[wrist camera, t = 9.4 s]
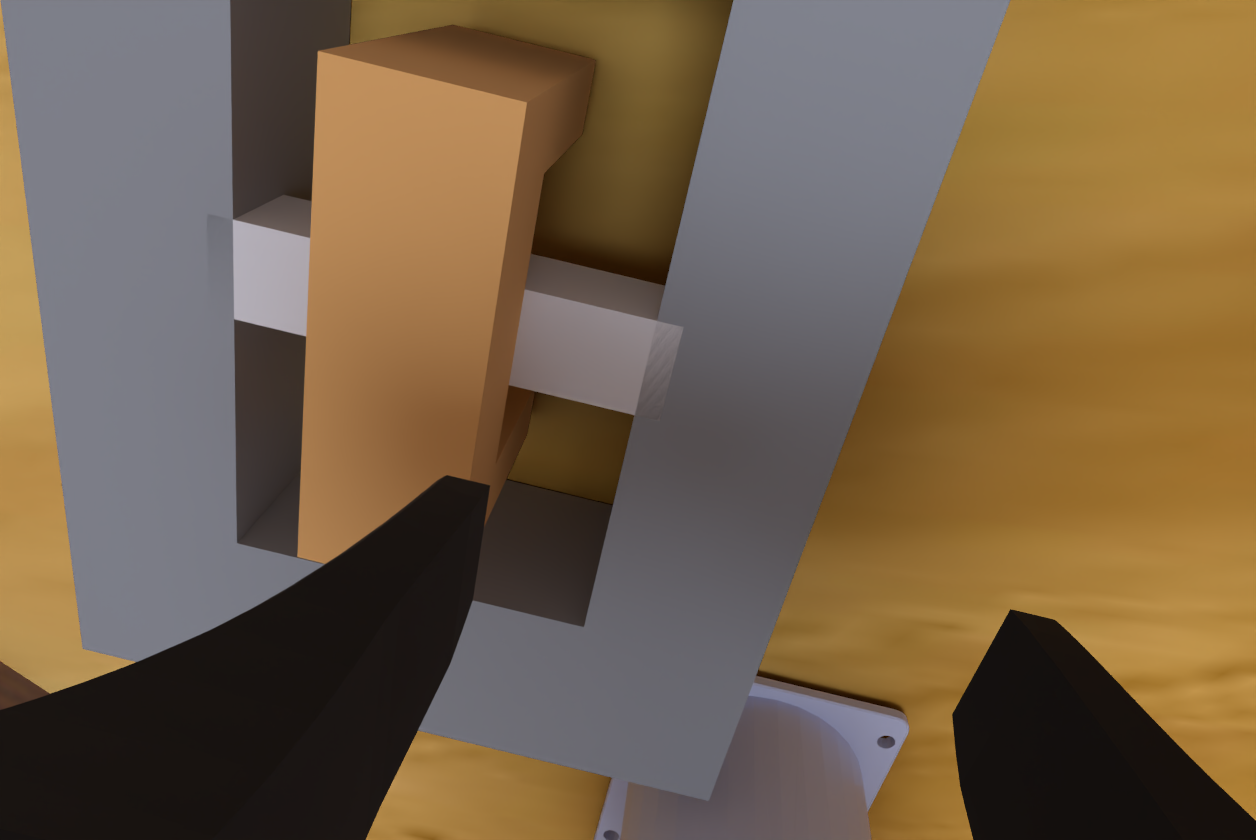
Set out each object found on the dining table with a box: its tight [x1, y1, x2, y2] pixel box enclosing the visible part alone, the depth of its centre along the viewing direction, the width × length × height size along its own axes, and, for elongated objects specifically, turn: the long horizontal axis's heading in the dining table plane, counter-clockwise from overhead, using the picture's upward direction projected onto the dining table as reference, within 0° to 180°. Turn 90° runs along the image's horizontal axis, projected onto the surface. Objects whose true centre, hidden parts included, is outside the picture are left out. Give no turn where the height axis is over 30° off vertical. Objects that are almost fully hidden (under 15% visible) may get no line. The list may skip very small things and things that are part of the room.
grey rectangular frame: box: [1, 0, 1010, 801], centre depth 19 cm, size 22×16×5 cm
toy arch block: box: [297, 25, 596, 564], centre depth 17 cm, size 9×3×6 cm, turn 168°
